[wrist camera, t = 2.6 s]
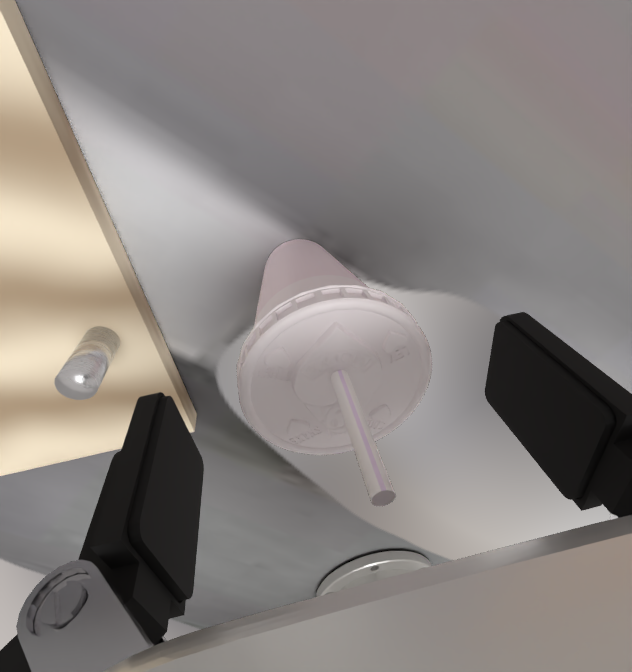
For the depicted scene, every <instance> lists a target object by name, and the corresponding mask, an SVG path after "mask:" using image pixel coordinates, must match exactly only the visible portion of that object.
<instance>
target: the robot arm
mask: <svg viewBox="0 0 632 672" xmlns="http://www.w3.org/2000/svg"><path fill="white" fill-rule="evenodd" d="M485 396H486V399H487V401H488V402H489V404H490V405H491V406H492V407H493V409H494V410H495V411H496V412H497V414H498V415H499V416H500V417H501V419H502V420H503V421H504V422H505V424H506V425H507V426H508V427H509V429H510V430H511V431H512V432H513V433H514V435H515V436H516V437H517V438H518V440H519V441H520V442H521V443H522V445H523V446H524V447H525V448H526V450H527V451H528V452H529V453H530V455H531V456H532V457H533V458H534V460H535V461H536V462H537V463H538V465H539V466H540V467H541V468H542V470H543V471H544V472H545V473H546V474H547V476H548V477H549V478H550V479H551V481H552V482H553V483H554V484H555V486H556V487H557V488H558V489H559V491H560V492H561V493H562V494H563V495H564V496H565V497H566V498H568V499H572V500H573V501H574V502H575V503H576V505H577V506H578V507H579V508H580V509H581V510H586V509H589V508H593V507H597V506H601V505H602V504H603V505H604V506H605V507H606V508H607V509H608V511H609V512H610V520H608V521H604V522H599V523H595V524H591V525H587V526H584V527H580V528H576V529H572V530H568V531H564V532H560V533H557V534H553V535H549V536H545V537H541V538H537V539H533V540H530V541H526V542H522V543H518V544H514V545H510V546H507V547H503V548H499V549H495V550H491V551H487V552H484V553H480V554H476V555H472V556H468V557H465V558H461V559H457V560H453V561H449V562H446V563H442V564H438V565H434V566H432V565H431V563H430V561H429V560H428V559H427V558H426V557H424V556H422V555H420V554H417V553H414V552H410V551H385V552H378V553H374V554H370V555H366V556H363V557H360V558H358V559H355V560H353V561H351V562H348V563H346V564H344V565H343V566H341V567H339V568H338V569H336V570H335V571H333V572H332V573H331V574H330V575H328V576H327V577H326V578H325V580H324V581H323V582H322V583H321V585H320V586H319V588H318V590H317V594H316V597H315V598H311V599H308V600H304V601H300V602H297V603H293V604H289V605H286V606H282V607H278V608H274V609H271V610H267V611H264V612H260V613H257V614H253V615H250V616H246V617H243V618H239V619H236V620H233V621H229V622H226V623H222V624H219V625H215V626H212V627H208V628H205V629H202V630H198V631H195V632H192V633H189V634H186V635H183V636H180V637H177V638H174V639H172V640H169V641H167V640H166V639H165V637H164V634H165V633H166V632H167V627H168V619H170V618H174V617H178V616H181V615H184V611H185V601H186V599H190V598H191V597H192V594H193V587H194V575H195V564H196V552H197V541H198V529H199V518H200V506H201V495H202V483H203V471H204V466H203V460H202V457H201V455H200V453H199V451H198V449H197V447H196V445H195V443H194V441H193V439H192V437H191V435H190V433H189V430H188V428H187V426H186V424H185V422H184V420H183V418H182V416H181V414H180V412H179V410H178V408H177V406H176V404H175V402H174V400H173V398H172V397H171V396H165V395H164V394H163V393H162V392H159V393H154V394H150V395H145V396H141V397H139V398H138V400H137V403H136V406H135V409H134V412H133V415H132V418H131V421H130V425H129V428H128V431H127V434H126V437H125V440H124V443H123V446H122V450H121V451H120V452H117V453H116V454H115V455H114V457H113V459H112V461H111V464H110V467H109V470H108V473H107V476H106V479H105V482H104V485H103V488H102V491H101V494H100V497H99V500H98V503H97V506H96V509H95V512H94V515H93V518H92V521H91V524H90V527H89V530H88V533H87V536H86V539H85V542H84V545H83V548H82V551H81V554H80V557H79V560H76V561H70V562H68V563H66V564H64V565H62V566H59V567H58V568H56V569H55V570H53V571H52V572H51V573H49V574H48V575H46V576H45V577H44V578H43V579H42V580H41V581H40V582H39V584H37V585H36V587H35V588H34V589H33V590H32V592H31V594H30V595H29V596H28V597H27V599H26V600H25V602H24V604H23V607H22V609H21V611H20V613H19V617H18V622H17V626H16V627H17V635H16V636H15V637H14V638H13V639H12V640H11V641H10V642H9V643H8V644H7V645H6V646H5V647H4V648H3V649H2V650H1V651H0V672H632V394H631V393H630V392H628V391H627V390H626V389H624V388H623V387H622V386H620V385H619V384H618V383H617V382H615V381H614V380H613V379H611V378H610V377H609V376H607V375H606V374H605V373H604V372H602V371H601V370H600V369H598V368H597V367H596V366H594V365H593V364H592V363H591V362H589V361H588V360H587V359H585V358H584V357H583V356H582V355H580V354H579V353H578V352H576V351H575V350H574V349H572V348H571V347H570V346H569V345H567V344H566V343H565V342H563V341H562V340H561V339H559V338H558V337H557V336H556V335H554V334H553V333H552V332H550V331H549V330H548V329H546V328H545V327H544V326H543V325H541V324H540V323H539V322H537V321H536V320H535V319H533V318H532V317H531V316H530V315H528V314H527V313H525V312H521V313H516V314H512V315H507V316H504V317H502V318H501V319H500V322H499V323H497V324H496V326H495V331H494V337H493V343H492V349H491V356H490V362H489V368H488V374H487V381H486V387H485Z"/></svg>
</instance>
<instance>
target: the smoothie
mask: <svg viewBox="0 0 632 672" xmlns="http://www.w3.org/2000/svg"><path fill="white" fill-rule="evenodd" d="M431 371H432V356H431V350H430V347H429V344H428V341H427V339H426V336H425V335H424V333H423V331H422V330H421V328H420V327H419V326H418V325H417V322H416V320H415V318H414V317H413V316H412V315H411V314H410V313H409V311H408V310H407V309H406V308H405V307H404V306H403V304H402V303H400V302H398V301H397V300H395V299H394V298H392V297H390V296H389V295H387V294H385V293H384V292H382V291H379V290H375V289H371V288H369V287H367V286H366V285H365V284H364V283H363V282H362V281H360V280H359V279H358V278H357V277H356V276H355V275H354V274H352V273H351V272H350V271H349V270H348V269H347V268H346V267H344V266H343V265H342V264H341V263H340V262H339V261H338V260H336V259H335V258H334V257H333V256H332V255H331V254H330V253H328V252H327V251H326V250H325V249H324V248H323V247H321V246H320V245H319V244H317V243H315V242H313V241H310V240H305V239H295V240H291V241H287V242H285V243H283V244H281V245H280V246H278V247H277V248H276V249H275V250H274V251H273V252H272V253H271V254H270V256H269V258H268V259H267V262H266V265H265V269H264V275H263V280H262V286H261V291H260V296H259V302H258V307H257V312H256V318H255V323H254V327H253V329H252V331H251V332H250V334H249V335H248V337H247V338H246V340H245V342H244V343H243V345H242V349H241V353H240V356H239V359H238V363H237V382H238V389H239V400H240V404H241V408H242V411H243V413H244V415H245V417H246V419H247V421H248V422H249V424H250V425H251V426H252V428H253V429H254V430H255V431H256V432H257V433H258V434H259V435H260V436H262V437H263V438H264V439H266V440H267V441H269V442H270V443H272V444H274V445H276V446H278V447H281V448H283V449H285V450H289V451H292V452H296V453H301V454H308V455H329V454H340V453H344V452H348V451H352V450H354V452H355V455H356V458H357V461H358V464H359V467H360V470H361V473H362V476H363V479H364V482H365V485H366V488H367V491H368V495H369V498H370V501H371V503H372V504H373V505H374V506H385V505H388V504H390V503H391V502H393V501H394V499H395V497H396V494H395V491H394V489H393V486H392V484H391V481H390V479H389V476H388V474H387V471H386V469H385V466H384V464H383V461H382V459H381V456H380V453H379V451H378V449H377V446H376V444H375V442H376V441H378V440H379V439H381V438H383V437H385V436H387V435H388V434H389V433H391V432H392V431H394V430H395V429H396V428H398V427H399V426H400V425H401V424H402V423H403V422H404V421H405V420H406V419H407V418H408V417H409V416H410V415H411V414H412V413H413V412H414V410H415V409H416V408H417V406H418V405H419V403H420V402H421V400H422V398H423V396H424V395H425V392H426V390H427V388H428V385H429V381H430V377H431Z"/></svg>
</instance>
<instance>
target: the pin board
mask: <svg viewBox="0 0 632 672" xmlns="http://www.w3.org/2000/svg"><path fill="white" fill-rule="evenodd" d="M159 392H162V393H163V394H164V395H165V396H171V397H172V398H173V400H174V402H175V404H176V406H177V408H178V410H179V412H180V414H181V416H182V418H183V420H184V422H185V424H186V426H187V428H188V430H189V433H191V432H195V425H196V417H197V413H196V411H195V409H194V406H193V404H192V402H191V400H190V397H189V395H188V393H187V391H186V388H185V386H184V384H183V381H182V379H181V377H180V375H179V372H178V370H177V368H176V366H175V363H174V361H173V359H172V356H171V354H170V352H169V350H168V347H167V345H166V343H165V341H164V338H163V336H162V334H161V331H160V329H159V327H158V325H157V322H156V320H155V318H154V316H153V313H152V311H151V309H150V306H149V304H148V302H147V300H146V297H145V295H144V293H143V291H142V288H141V286H140V284H139V281H138V279H137V277H136V275H135V272H134V270H133V268H132V266H131V263H130V261H129V259H128V256H127V254H126V252H125V250H124V247H123V245H122V243H121V241H120V238H119V236H118V234H117V231H116V229H115V227H114V225H113V222H112V220H111V218H110V216H109V213H108V211H107V209H106V206H105V204H104V202H103V200H102V197H101V195H100V193H99V190H98V188H97V186H96V184H95V181H94V179H93V177H92V175H91V172H90V170H89V168H88V165H87V163H86V161H85V159H84V156H83V154H82V152H81V150H80V147H79V145H78V143H77V140H76V138H75V136H74V134H73V131H72V129H71V127H70V125H69V122H68V120H67V118H66V115H65V113H64V111H63V109H62V106H61V104H60V102H59V100H58V97H57V95H56V93H55V90H54V88H53V86H52V84H51V81H50V79H49V77H48V75H47V72H46V70H45V68H44V65H43V63H42V61H41V59H40V56H39V54H38V52H37V50H36V47H35V45H34V43H33V40H32V38H31V36H30V34H29V31H28V29H27V27H26V25H25V22H24V20H23V18H22V15H21V13H20V11H19V9H18V6H17V4H16V2H15V1H14V0H0V476H2V475H7V474H11V473H16V472H20V471H24V470H29V469H33V468H37V467H42V466H46V465H51V464H55V463H59V462H64V461H68V460H73V459H77V458H81V457H86V456H90V455H94V454H99V453H103V452H108V451H112V450H116V449H121V448H122V446H123V443H124V440H125V437H126V434H127V431H128V428H129V425H130V421H131V418H132V415H133V412H134V409H135V406H136V403H137V400H138V398H139V397H141V396H145V395H150V394H154V393H159Z"/></svg>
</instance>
